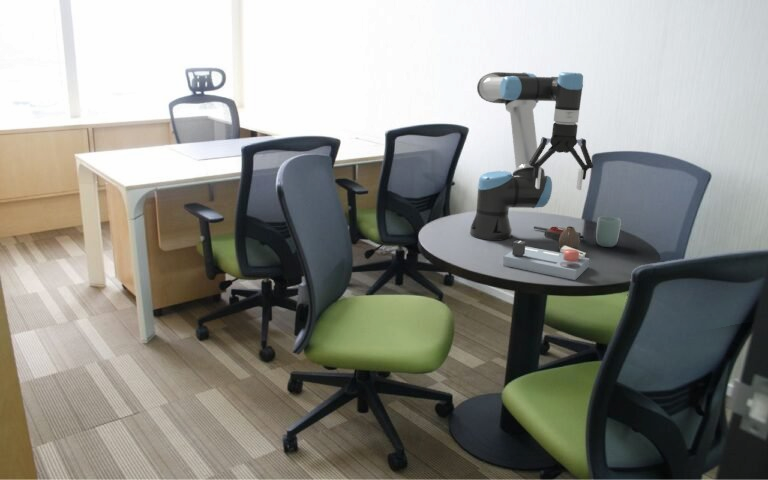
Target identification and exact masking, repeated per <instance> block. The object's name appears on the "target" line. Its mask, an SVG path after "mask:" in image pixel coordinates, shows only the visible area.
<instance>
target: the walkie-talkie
mask: <svg viewBox="0 0 768 480" xmlns="http://www.w3.org/2000/svg"><path fill="white" fill-rule="evenodd" d="M566 228H567V227H565V226H561V225H560V226H558V225H553V226H551V227H550V228H546V227H541V226H537V225H534V226H533V229H534V230H539V231H543V232H544V237H545V238H547V239H552V240H556V241H557V240H558V241H559V237H560V235H561V234H562V232H563V231H564V230H565V229H566ZM576 232H577V231H576ZM577 234H578V236H579V240H581V239H582V240H583V239H584V237H585V236H583V235H581V232H577Z"/></svg>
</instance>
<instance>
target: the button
mask: <svg viewBox="0 0 768 480" xmlns="http://www.w3.org/2000/svg"><path fill="white" fill-rule="evenodd" d="M577 250H578V249H577ZM577 250H573V249H566V250H564V253H563V254H564V257H563V259H564V260H566V261H570V262H576V261H578V257H579V251H580V250H579V251H577Z"/></svg>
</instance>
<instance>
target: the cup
mask: <svg viewBox="0 0 768 480" xmlns="http://www.w3.org/2000/svg"><path fill="white" fill-rule="evenodd" d="M621 224H622V220H621V219H620V218H619V217H615V216H609V215H601V216H598V218H597V224H596V233H595V238H596V243H597V244H598V245H599V246H600V247H605V248H613V247H614V246H616V245H617V243H618V240H619V235H620V231H621V227H622V226H621Z"/></svg>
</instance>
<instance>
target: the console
mask: <svg viewBox="0 0 768 480" xmlns="http://www.w3.org/2000/svg"><path fill="white" fill-rule="evenodd" d="M512 251H513V250H511V251H510V252H508V253H506V254H505V255H504V256H503V259H502V260H503V261H502V266H506V267H509V268H510V267H511V268H515V269H518V270H519V269H520V270H524V271H529V272H533V273H534V272H535V273H537V274H538V273H539V274H544V275H549V276H553V277H557V278H561V279H562V278H563V279H567V280H571V281H572V280H573V281H575V280H576V279H578V278H579V277H580V276H581V275H582V274H583V273H584V272H585V271H586V270H587V269H588V268H589V266H590V265H589V264H590V257H589V258H588V257H586V256H585V257H584V258H583V259H578V261H576V262H570V261H566V260H564V259H563V257H564V253H562V252H558V251H553V250H547V249H541V248H535V247H531V246H526V245H525V254H524V255H522V256H518V255H513V254H512Z"/></svg>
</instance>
